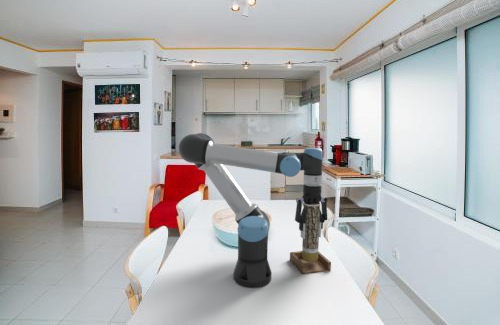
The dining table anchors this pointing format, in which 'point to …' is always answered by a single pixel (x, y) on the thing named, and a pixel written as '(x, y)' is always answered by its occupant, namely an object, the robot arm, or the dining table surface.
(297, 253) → the wooden tray
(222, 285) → the dining table surface
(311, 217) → the paper tube
